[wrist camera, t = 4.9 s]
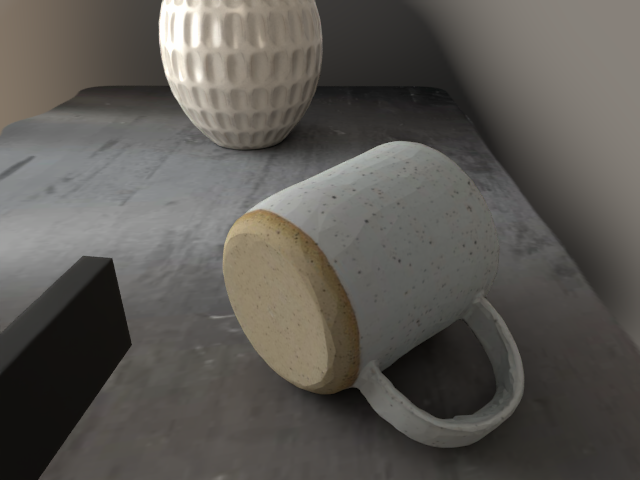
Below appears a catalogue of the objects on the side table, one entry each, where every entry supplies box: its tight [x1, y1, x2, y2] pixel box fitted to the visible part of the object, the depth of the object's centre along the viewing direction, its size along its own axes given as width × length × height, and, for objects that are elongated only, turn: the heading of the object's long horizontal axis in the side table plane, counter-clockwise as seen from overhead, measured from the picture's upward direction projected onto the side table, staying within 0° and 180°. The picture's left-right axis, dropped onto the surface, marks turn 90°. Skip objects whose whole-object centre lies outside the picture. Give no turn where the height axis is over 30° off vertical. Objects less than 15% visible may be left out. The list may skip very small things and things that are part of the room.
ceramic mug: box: [223, 141, 524, 448], centre depth 18 cm, size 11×8×8 cm
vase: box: [159, 0, 322, 150], centre depth 41 cm, size 13×13×17 cm
